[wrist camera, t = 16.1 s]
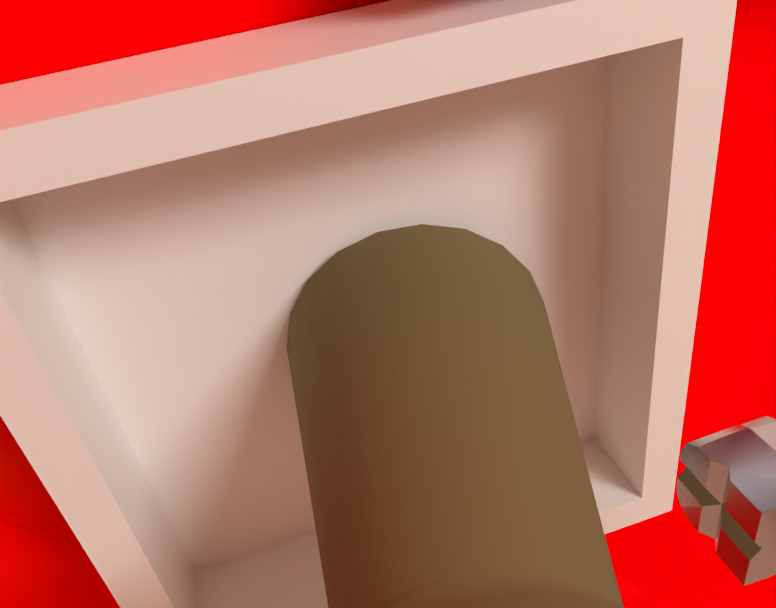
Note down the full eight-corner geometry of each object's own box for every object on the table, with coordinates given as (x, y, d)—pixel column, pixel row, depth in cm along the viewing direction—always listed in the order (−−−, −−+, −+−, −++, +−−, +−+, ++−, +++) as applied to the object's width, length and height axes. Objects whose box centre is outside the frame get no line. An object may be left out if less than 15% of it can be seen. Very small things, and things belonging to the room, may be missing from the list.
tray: (168, 587, 20) (171, 689, 17) (-93, 104, 12) (-157, 165, 9) (613, 438, 22) (672, 510, 19) (638, -54, 14) (741, -37, 12)
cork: (516, 186, 14) (886, 788, 5) (566, 397, 17) (844, 999, 8) (242, 275, 15) (120, 965, 6) (339, 464, 18) (363, 1098, 9)
